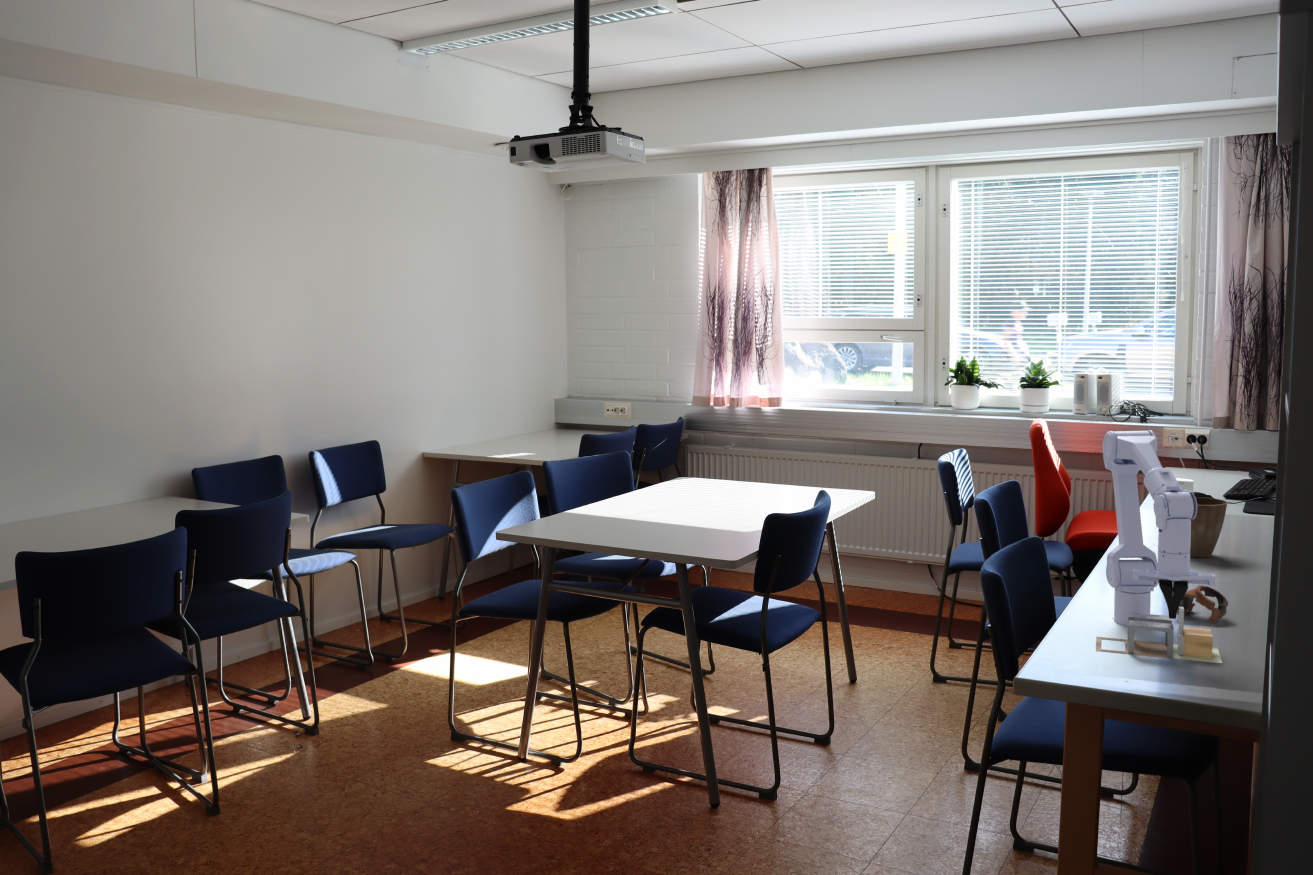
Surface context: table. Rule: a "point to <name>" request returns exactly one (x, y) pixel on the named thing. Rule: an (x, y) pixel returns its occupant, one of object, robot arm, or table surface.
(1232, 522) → the table surface
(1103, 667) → the table surface
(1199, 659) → the board
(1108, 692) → the table surface
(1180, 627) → the paddle
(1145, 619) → the tunnel
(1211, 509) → the plant pot
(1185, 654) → the block
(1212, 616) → the brown headphones
